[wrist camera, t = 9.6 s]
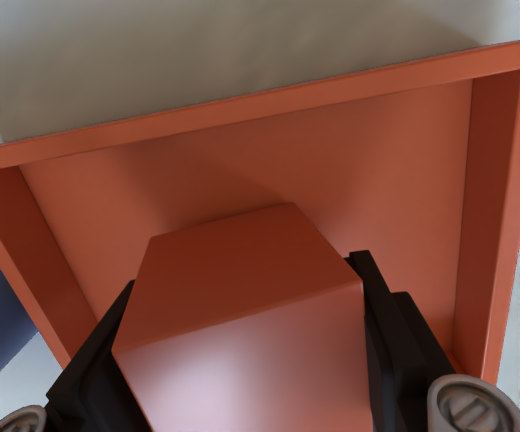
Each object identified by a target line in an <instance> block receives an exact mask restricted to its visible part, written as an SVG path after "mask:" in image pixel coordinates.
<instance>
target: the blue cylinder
mask: <svg viewBox="0 0 520 432" xmlns="http://www.w3.org/2000/svg"><path fill="white" fill-rule="evenodd" d="M38 331H39V330H38V329H37V327H36V326H35V324H34V322H33V321H32V319H31V317H30V316H29V314H28V313H27V311H26V309H25V308H24V306H23V305H22V303H21V301H20V300H19V298H18V296H17V295H16V293H15V292H14V290H13V288H12V287H11V285H10V284H9V282H8V280H7V279H6V277H5V275H4V274H3V272H2V271H1V269H0V371H1V370H2V369H3V368H4V367H5V366H6V365H7V364H8V363H9V361H10V360H11V359H12V358H13V357H14V356H15V355H16V354H17V353H18V352H19V351H20V350H21V349H22V348H23V347H24V346H25V345H26V344H27V342H28V341H29V340H30V339H31V338H32V337H33V336H34V335H35V334H36V333H37V332H38Z"/></svg>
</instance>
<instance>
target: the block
mask: <svg viewBox="0 0 520 432" xmlns="http://www.w3.org/2000/svg"><path fill="white" fill-rule="evenodd" d="M364 316H365V306H364V291H363V281H362V279H361V278H360V277H359V276H358V275H357V274H356V272H355V271H354V270H353V269H352V268H351V267H350V266H349V264H348V263H347V262H346V261H345V260H344V259H343V258H342V256H341V255H340V254H339V253H338V252H337V251H336V250H335V248H334V247H333V246H332V245H331V244H330V243H329V242H328V240H327V239H326V238H325V237H324V236H323V235H322V234H321V233H320V231H319V230H318V229H317V228H316V227H315V226H314V225H313V223H312V222H311V221H310V220H309V219H308V218H307V217H306V215H305V214H304V213H303V212H302V211H301V210H300V209H299V207H298V206H297V205H296V204H295V203H294V202H289V203H285V204H281V205H277V206H273V207H269V208H265V209H261V210H257V211H253V212H249V213H245V214H241V215H237V216H233V217H229V218H225V219H221V220H217V221H213V222H209V223H205V224H201V225H197V226H193V227H189V228H185V229H181V230H177V231H173V232H168V233H164V234H160V235H156V236H152V237H151V238H150V239H149V242H148V245H147V248H146V251H145V254H144V257H143V259H142V262H141V265H140V268H139V271H138V274H137V277H136V280H135V283H134V285H133V288H132V291H131V294H130V297H129V300H128V303H127V306H126V309H125V311H124V314H123V317H122V320H121V323H120V326H119V329H118V332H117V334H116V337H115V340H114V343H113V346H112V351H111V352H112V355H113V357H114V359H115V360H116V362H117V364H118V366H119V368H120V370H121V372H122V374H123V376H124V378H125V380H126V382H127V384H128V386H129V388H130V389H131V391H132V393H133V395H134V397H135V399H136V401H137V403H138V405H139V407H140V409H141V411H142V413H143V415H144V417H145V418H146V420H147V422H148V424H149V426H150V428H151V430H152V432H373V422H372V413H371V409H370V395H369V381H368V366H367V352H366V338H365V323H364Z"/></svg>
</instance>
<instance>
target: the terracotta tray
mask: <svg viewBox="0 0 520 432" xmlns="http://www.w3.org/2000/svg"><path fill="white" fill-rule="evenodd" d="M289 202H294V203H295V204H296V205H297V206H298V207H299V209H300V210H301V211H302V212H303V213H304V214H305V215H306V217H307V218H308V219H309V220H310V221H311V222H312V223H313V225H314V226H315V227H316V228H317V229H318V230H319V231H320V233H321V234H322V235H323V236H324V237H325V238H326V239H327V240H328V242H329V243H330V244H331V245H332V246H333V247H334V248H335V250H336V251H337V252H338V253H339V254H340V255H341V256H342V258H344V257H349V252H353V251H361V250H369V251H370V253H371V255H372V257H373V258H374V260H375V262H376V264H377V266H378V268H379V270H380V272H381V274H382V276H383V278H384V280H385V282H386V284H387V286H388V288H389V290H390V292H391V293H392V292H401V291H407V292H408V293H409V294H410V296H411V297H412V299H413V300H414V302H415V304H416V305H417V307H418V309H419V311H420V312H421V314H422V316H423V317H424V319H425V321H426V322H427V324H428V326H429V327H430V329H431V331H432V332H433V334H434V336H435V337H436V339H437V341H438V343H439V344H440V346H441V348H442V349H443V351H444V353H445V354H446V356H447V358H448V359H449V361H450V363H451V364H452V366H453V368H454V369H455V371H456V373H457V374H464V375H470V376H473V377H476V378H479V379H482V380H484V381H486V382H488V383H490V384H492V385H494V386H496V383H497V377H498V371H499V365H500V360H501V354H502V348H503V342H504V336H505V330H506V324H507V318H508V312H509V306H510V300H511V294H512V288H513V282H514V276H515V270H516V264H517V258H518V252H519V246H520V40H517V41H510V42H504V43H498V44H491V45H485V46H480V47H475V48H470V49H465V50H460V51H455V52H450V53H446V54H441V55H436V56H431V57H426V58H421V59H416V60H411V61H406V62H401V63H396V64H391V65H386V66H381V67H376V68H371V69H366V70H362V71H357V72H352V73H347V74H342V75H337V76H332V77H327V78H322V79H317V80H312V81H307V82H302V83H297V84H292V85H287V86H282V87H277V88H273V89H268V90H263V91H258V92H253V93H248V94H243V95H238V96H233V97H228V98H223V99H218V100H213V101H208V102H203V103H198V104H193V105H189V106H184V107H179V108H174V109H169V110H164V111H159V112H154V113H149V114H144V115H139V116H134V117H129V118H124V119H119V120H114V121H109V122H104V123H100V124H95V125H90V126H85V127H80V128H75V129H70V130H65V131H60V132H55V133H50V134H45V135H40V136H35V137H30V138H25V139H20V140H16V141H11V142H6V143H1V144H0V269H1V271H2V272H3V274H4V275H5V277H6V279H7V280H8V282H9V284H10V285H11V287H12V288H13V290H14V292H15V293H16V295H17V296H18V298H19V300H20V301H21V303H22V305H23V306H24V308H25V309H26V311H27V313H28V314H29V316H30V317H31V319H32V321H33V322H34V324H35V326H36V327H37V329H38V330H39V332H40V334H41V335H42V337H43V338H44V340H45V342H46V343H47V345H48V347H49V348H50V350H51V351H52V353H53V355H54V356H55V358H56V359H57V361H58V363H59V364H60V366H61V368H62V369H63V370H64V369H65V368H66V366H67V365H68V364H69V362H70V361H71V360H72V358H73V357H74V355H75V354H76V353H77V351H78V350H79V349H80V347H81V346H82V345H83V343H84V342H85V341H86V339H87V338H88V336H89V335H90V334H91V332H92V331H93V330H94V328H95V327H96V326H97V324H98V323H99V322H100V320H101V319H102V317H103V316H104V315H105V313H106V312H107V311H108V309H109V308H110V307H111V305H112V304H113V303H114V301H115V300H116V298H117V297H118V296H119V294H120V293H121V292H122V290H123V289H124V288H125V286H126V285H127V284H128V282H129V281H130V280H134V279H136V277H137V274H138V271H139V268H140V265H141V262H142V259H143V257H144V254H145V251H146V248H147V245H148V242H149V239H150V238H151V237H152V236H156V235H160V234H164V233H168V232H173V231H177V230H181V229H185V228H189V227H193V226H197V225H201V224H205V223H209V222H213V221H217V220H221V219H225V218H229V217H233V216H237V215H241V214H245V213H249V212H253V211H257V210H261V209H265V208H269V207H273V206H277V205H281V204H285V203H289Z"/></svg>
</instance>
